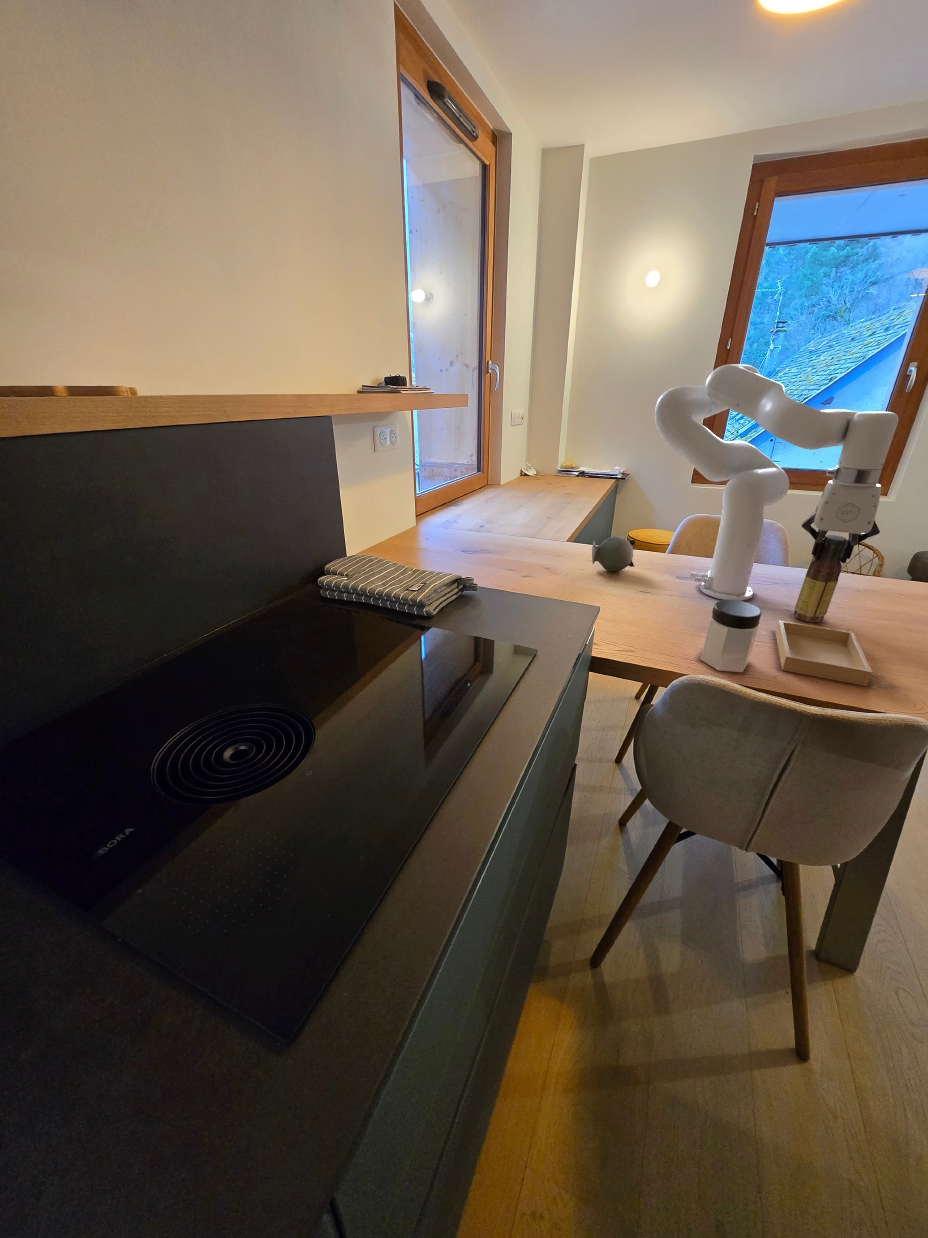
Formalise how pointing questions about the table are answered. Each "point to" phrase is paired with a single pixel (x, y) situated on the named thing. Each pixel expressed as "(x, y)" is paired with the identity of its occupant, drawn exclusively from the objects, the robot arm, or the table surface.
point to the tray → (822, 653)
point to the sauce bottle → (820, 581)
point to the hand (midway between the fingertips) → (829, 559)
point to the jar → (731, 635)
